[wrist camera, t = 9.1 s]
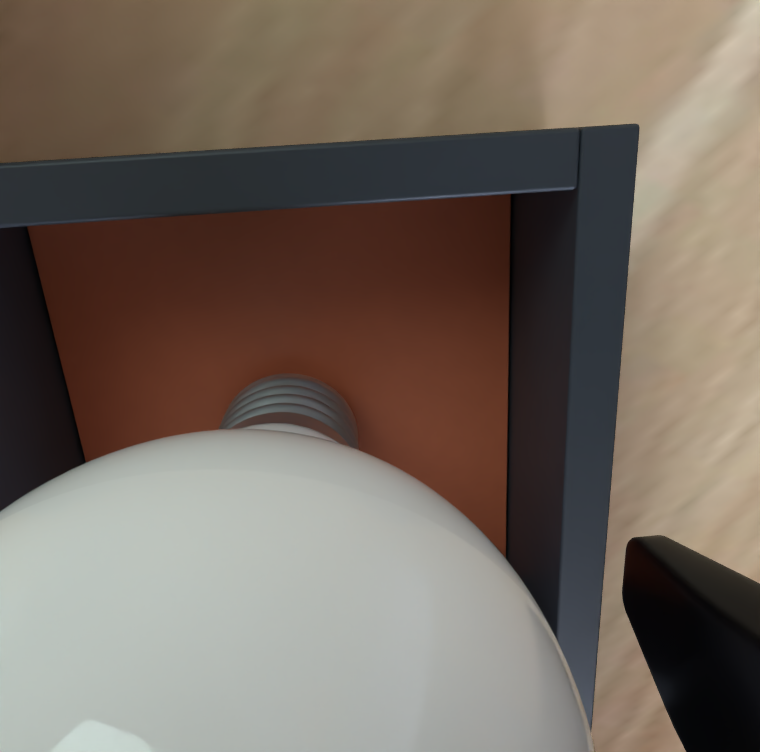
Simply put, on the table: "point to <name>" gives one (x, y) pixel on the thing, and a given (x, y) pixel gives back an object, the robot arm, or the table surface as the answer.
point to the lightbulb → (268, 602)
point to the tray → (343, 320)
